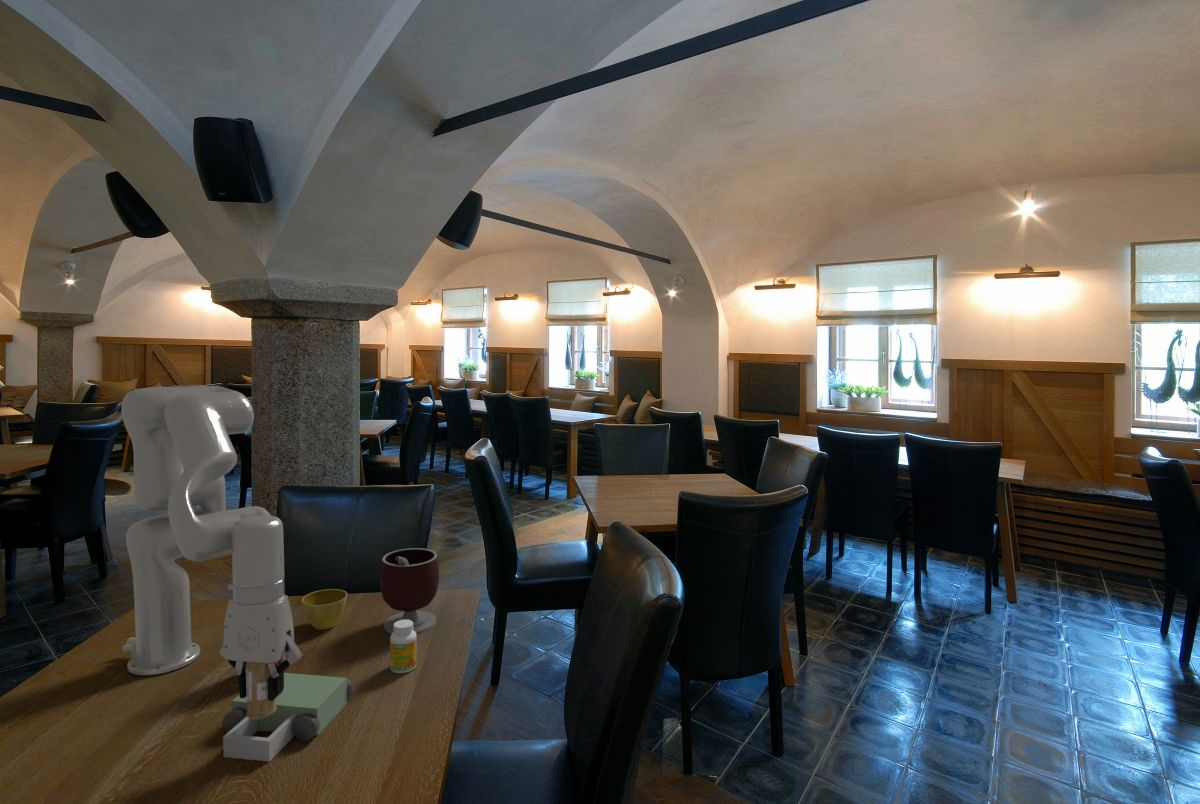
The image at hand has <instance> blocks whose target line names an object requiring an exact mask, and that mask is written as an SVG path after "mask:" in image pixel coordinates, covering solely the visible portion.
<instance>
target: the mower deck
mask: <svg viewBox="0 0 1200 804" xmlns="http://www.w3.org/2000/svg"><path fill="white" fill-rule="evenodd" d="M354 691H355V685H354V683H353V681H352V680H351V679H349V677H342V676H341V677H340V676H330V675H318V674H317V675H316V674H306V673H305V674H304V673H303V674H302V673H294V672H293V673H291V672H284V689H283V692H282V693H281V694H280V695H278V696H277V697H276V706H277V709H276V711H275V712H274V713H273V714H272V715H270V716H268V717H266V718H263V719H258V720H253V719H249V718H248V717H247V696H246V697H245V698H240V694H239V695H237V696H235V698H234V699H233V700H231V710H230V711H229V712H228V713H226V715H224V717H223V719H222V725H223V728H224V730H225V732H227V733H226V734H225V735H223V737H222V745H223V746H222V747H223V758H230V759H231V758H232V759H239V760H241V759H242V760H249V761H261V762H271V761H272V760H273V759H274V758H275V757H276V755H278V753H280V752H281V750H282V749H283V748H284V747H286V745H287V744H288V743H290V741H291V740H292V739H294V737H295V738H296V739H298V740H299V741H301V742H308V741H310V740H312V739H313V738H314V737H317V736H319V735H320V734H321V733H322V732H323V731H324V729H325V728H327V726H328V725H329V724H330V723H331V722H332V721H333V720H334V718H335V717H336V716H337V715H338V714H339V713H340V712H341V711H342V710H343V708H344V707H345V706H346V705H347V704H348V700H349V698H351V696H352V695H353V694H354ZM257 731H262V732H263V731H264V732H265V731H266V732H272V733H271V734H270V735H269V736H267V737H263V736H254V734H255V733H256V732H257Z"/></svg>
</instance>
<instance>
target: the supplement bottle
mask: <svg viewBox="0 0 1200 804" xmlns="http://www.w3.org/2000/svg"><path fill="white" fill-rule="evenodd" d="M393 630H394V633H392V634H391V635H390V637H389V666H390V667H389V668H390V670H391V672H393V673H396V674H406V673H409V672H411V671H414V669H416V667H417V645H418V644H417V641H418V639H417V638H418V637H417V634H416V632H415V631H413V622H412V621H411V620H399V621H397V622H395V623H394V628H393Z"/></svg>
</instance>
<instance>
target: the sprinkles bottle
mask: <svg viewBox="0 0 1200 804" xmlns="http://www.w3.org/2000/svg"><path fill="white" fill-rule="evenodd" d="M270 676H271V674H270V670H269V666H268V664H267V663H252V662H246V695H247V717H248V718H249V719H253V720H258V719H263V718H266V717H268V716H270V715H272V714H273V713H274V712H275V711H276V709H277V706H276V698H275V699H274V700H273V701H269V700H268V683H267V680H268V678H269V677H270Z"/></svg>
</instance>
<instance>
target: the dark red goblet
mask: <svg viewBox="0 0 1200 804" xmlns="http://www.w3.org/2000/svg"><path fill="white" fill-rule="evenodd" d="M437 556H438V553H437V551H435V550H432V549H429V548H420V547H417V548H416V547H415V548H414V547H412V548H411V547H410V548H402V549H398V550H394V551H391V552H388V553H386V554H385V555H383V557H382V563H381V567H380V572H379V585H380V590H381V592H380V593H381V596H382V598H383V600H384V602H385V603H386V604H387V605H388V607H390V609H392V610H395V611H398V613H395V614H393V615H391V616H389V617H388V618H386V620H385V621H384V623H383V628H384V631H385V632H386V633H389V634H391V635H392V633H394V630H393V628H394V623H395V622H397V621H399V620H411V621H412V622H413V631H415V632H416V635H418V634H421V632H422V633H424V631H425V632H427V631H429V630H431V629H433V627H434V626H435V625H436V622H437V618H436V616H435V614H433V613H431V612H428V611H423V610H421V609H423V608H425V607H427V606H428V605H429V604H431V602H432V601H433V599H435V597H436V596H437V592H438V589H439V584H440V567H439V565H440V564H439V560H438V559H439V558H438V557H437ZM399 611H400V612H399ZM430 628H431V629H430Z"/></svg>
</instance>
